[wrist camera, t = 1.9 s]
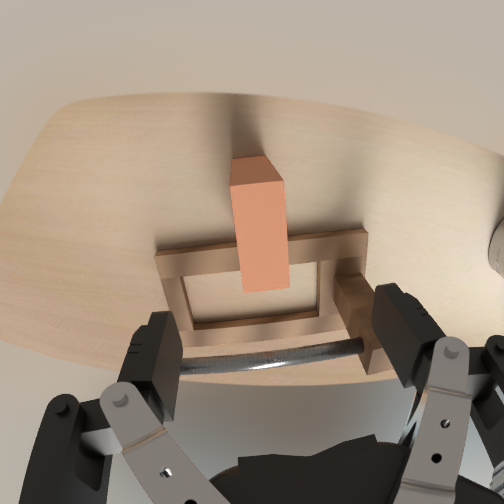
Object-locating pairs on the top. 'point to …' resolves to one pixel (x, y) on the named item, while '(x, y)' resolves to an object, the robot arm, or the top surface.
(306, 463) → the robot arm
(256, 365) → the hook arm
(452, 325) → the top surface
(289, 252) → the wooden hook stand
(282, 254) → the salmon wooden arch
